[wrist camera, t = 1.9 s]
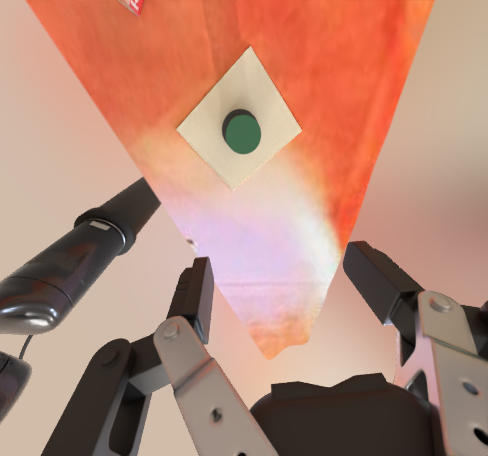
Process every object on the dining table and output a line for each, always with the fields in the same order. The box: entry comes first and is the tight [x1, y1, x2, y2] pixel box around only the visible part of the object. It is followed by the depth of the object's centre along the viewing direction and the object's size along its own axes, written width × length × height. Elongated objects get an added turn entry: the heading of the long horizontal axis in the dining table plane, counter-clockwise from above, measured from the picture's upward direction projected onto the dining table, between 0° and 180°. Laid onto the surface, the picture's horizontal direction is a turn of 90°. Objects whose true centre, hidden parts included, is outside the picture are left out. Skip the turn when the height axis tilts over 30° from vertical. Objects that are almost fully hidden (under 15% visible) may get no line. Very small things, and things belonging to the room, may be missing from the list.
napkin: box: [176, 46, 302, 190], centre depth 32 cm, size 16×14×1 cm
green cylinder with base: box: [222, 109, 261, 154], centre depth 27 cm, size 6×6×10 cm
